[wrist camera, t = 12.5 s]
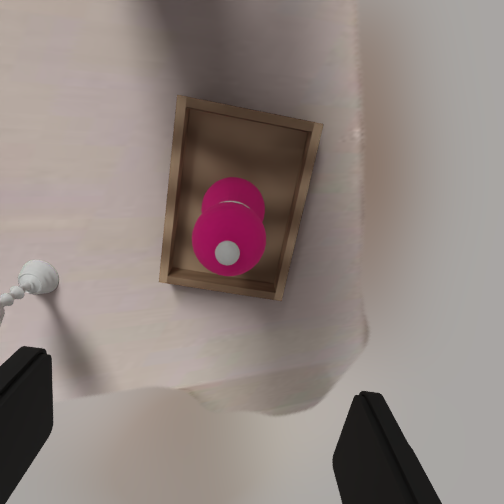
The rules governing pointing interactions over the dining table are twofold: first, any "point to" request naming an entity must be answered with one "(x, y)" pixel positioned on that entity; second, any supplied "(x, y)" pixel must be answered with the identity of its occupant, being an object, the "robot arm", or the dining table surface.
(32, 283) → the chalice
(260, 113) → the serving tray
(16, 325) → the dining table surface
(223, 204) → the pepper mill
